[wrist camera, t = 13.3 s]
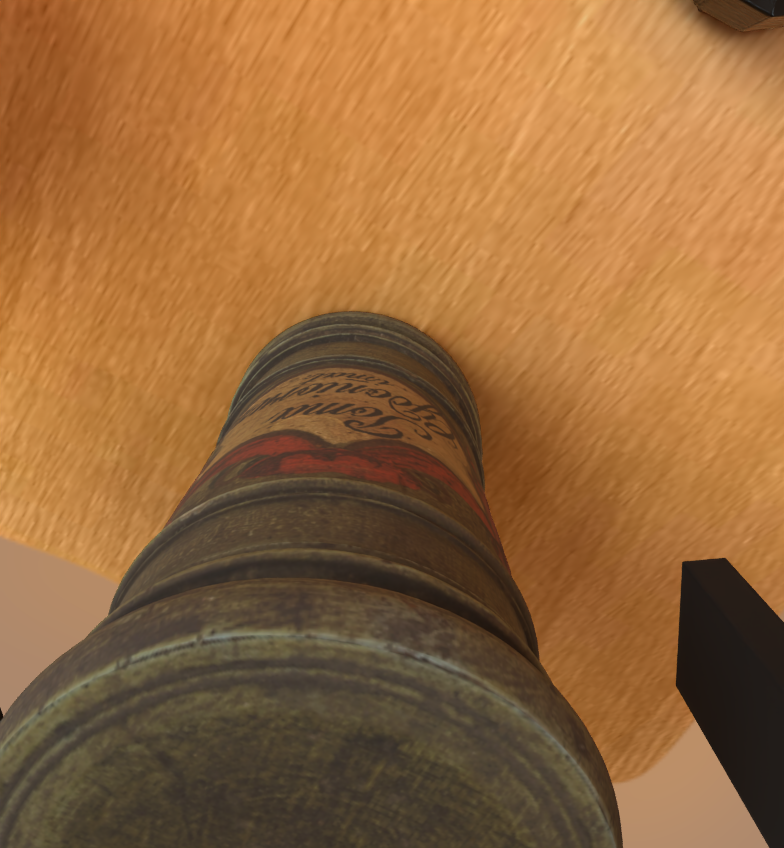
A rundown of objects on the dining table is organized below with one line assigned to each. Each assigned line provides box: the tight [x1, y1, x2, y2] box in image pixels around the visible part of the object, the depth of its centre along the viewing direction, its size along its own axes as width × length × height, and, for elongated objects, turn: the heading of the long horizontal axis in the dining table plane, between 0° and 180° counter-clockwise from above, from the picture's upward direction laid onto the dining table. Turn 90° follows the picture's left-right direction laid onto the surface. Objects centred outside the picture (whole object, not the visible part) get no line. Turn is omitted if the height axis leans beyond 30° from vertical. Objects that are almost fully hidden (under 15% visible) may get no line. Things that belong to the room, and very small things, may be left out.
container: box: [0, 311, 623, 848], centre depth 17 cm, size 9×9×18 cm
